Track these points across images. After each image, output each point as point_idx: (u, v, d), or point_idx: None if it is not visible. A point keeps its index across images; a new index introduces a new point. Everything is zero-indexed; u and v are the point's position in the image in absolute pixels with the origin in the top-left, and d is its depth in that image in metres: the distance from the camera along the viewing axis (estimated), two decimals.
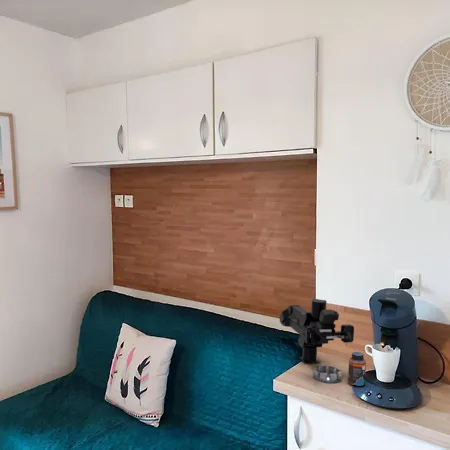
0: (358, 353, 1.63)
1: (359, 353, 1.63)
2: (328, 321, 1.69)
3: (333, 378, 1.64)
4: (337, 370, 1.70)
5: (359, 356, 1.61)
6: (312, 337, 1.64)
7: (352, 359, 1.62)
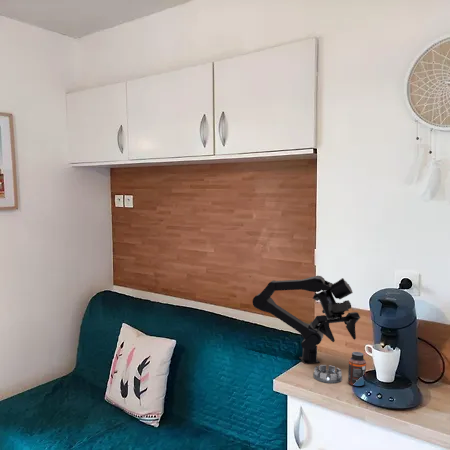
0: (358, 353, 1.63)
1: (359, 353, 1.63)
2: (339, 311, 1.73)
3: (333, 378, 1.64)
4: (337, 370, 1.70)
5: (359, 356, 1.61)
6: (320, 327, 1.72)
7: (352, 359, 1.62)
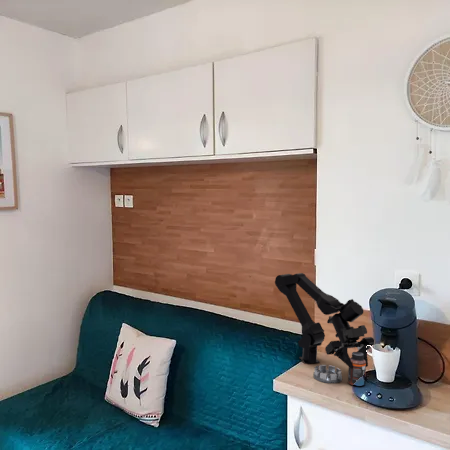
0: (358, 353, 1.63)
1: (359, 353, 1.63)
2: (355, 336, 1.65)
3: (333, 378, 1.64)
4: (337, 370, 1.70)
5: (359, 356, 1.61)
6: (338, 352, 1.64)
7: (352, 359, 1.62)
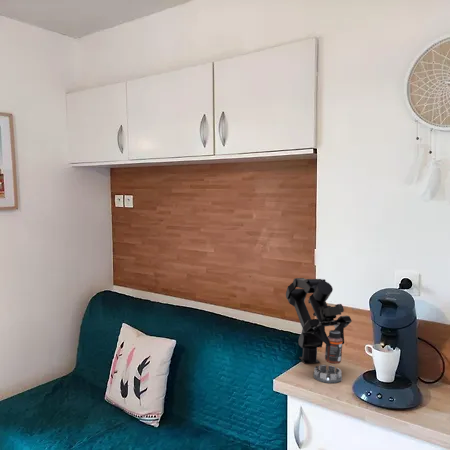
0: (335, 331, 1.67)
1: (336, 331, 1.67)
2: (332, 315, 1.69)
3: (333, 378, 1.64)
4: (337, 370, 1.70)
5: (336, 334, 1.65)
6: (315, 330, 1.68)
7: (329, 337, 1.67)
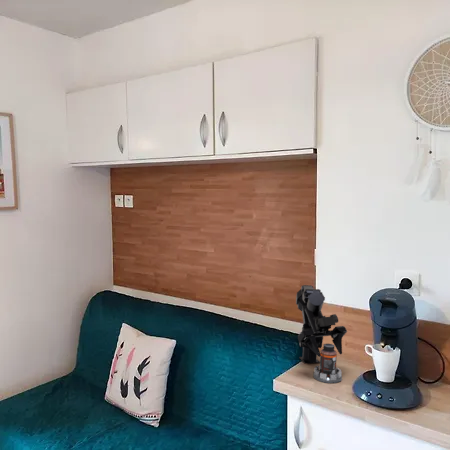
0: (329, 345, 1.68)
1: (330, 345, 1.68)
2: None
3: (333, 378, 1.64)
4: (337, 370, 1.70)
5: (330, 348, 1.66)
6: (306, 341, 1.68)
7: (323, 350, 1.68)
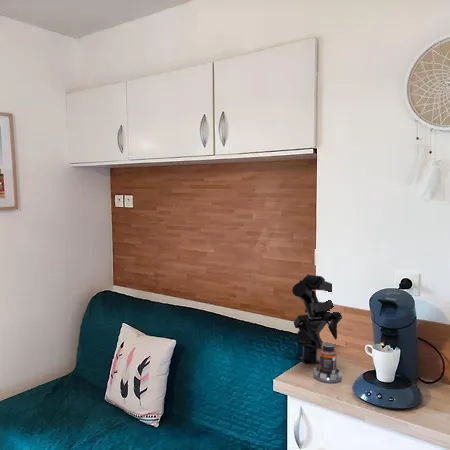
0: (329, 345, 1.68)
1: (330, 345, 1.68)
2: (322, 311, 1.73)
3: (333, 378, 1.64)
4: (337, 370, 1.70)
5: (329, 347, 1.66)
6: (302, 326, 1.72)
7: (323, 350, 1.68)
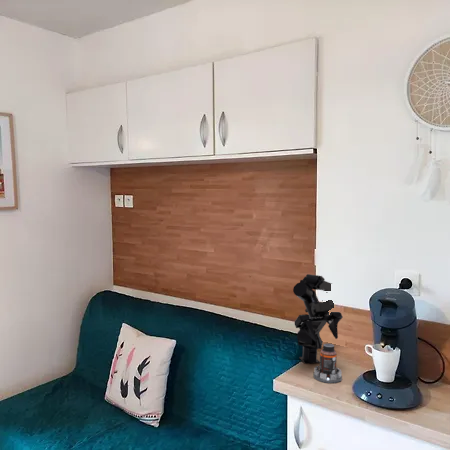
0: (329, 345, 1.68)
1: (330, 345, 1.68)
2: (322, 311, 1.73)
3: (333, 378, 1.64)
4: (337, 370, 1.70)
5: (330, 347, 1.66)
6: (302, 326, 1.72)
7: (323, 350, 1.68)
